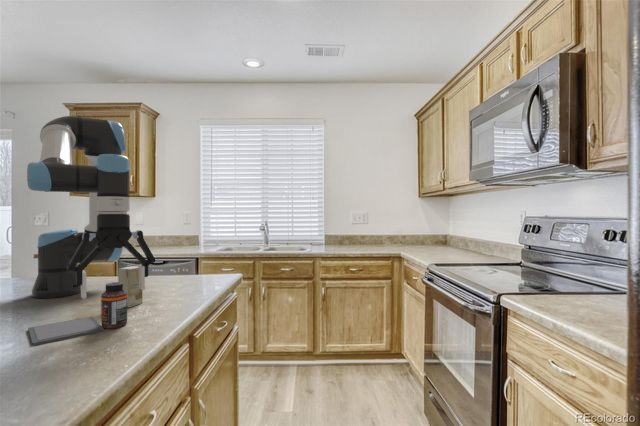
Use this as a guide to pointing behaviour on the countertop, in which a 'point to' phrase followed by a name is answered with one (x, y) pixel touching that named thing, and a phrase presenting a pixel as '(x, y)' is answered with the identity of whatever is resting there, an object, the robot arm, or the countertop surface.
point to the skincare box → (131, 284)
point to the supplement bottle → (114, 306)
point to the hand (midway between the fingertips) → (114, 293)
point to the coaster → (63, 330)
